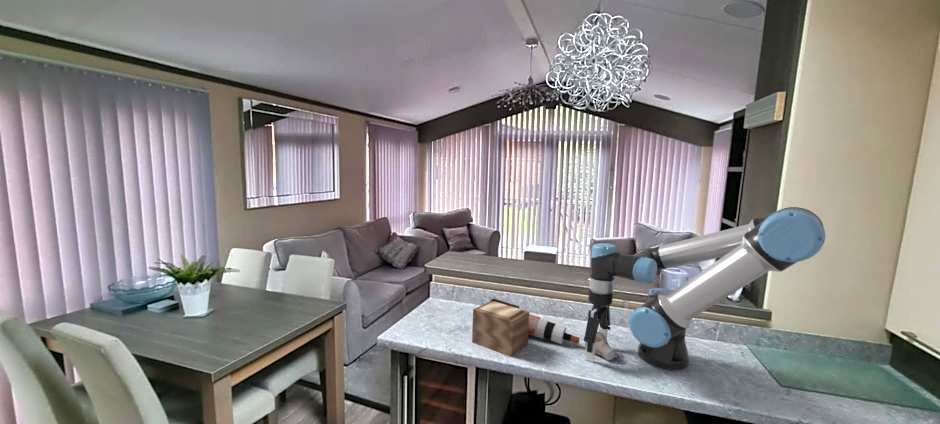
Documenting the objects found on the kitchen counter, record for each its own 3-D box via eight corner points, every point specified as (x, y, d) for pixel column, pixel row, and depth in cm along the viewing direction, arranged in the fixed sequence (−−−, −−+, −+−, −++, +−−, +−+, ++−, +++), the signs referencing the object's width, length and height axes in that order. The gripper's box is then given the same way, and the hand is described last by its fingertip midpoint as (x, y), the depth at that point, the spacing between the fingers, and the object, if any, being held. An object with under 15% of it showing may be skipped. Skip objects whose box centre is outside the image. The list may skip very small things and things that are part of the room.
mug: (607, 366, 123) (594, 335, 125) (590, 365, 132) (577, 336, 134) (624, 356, 126) (611, 327, 128) (606, 356, 135) (594, 328, 137)
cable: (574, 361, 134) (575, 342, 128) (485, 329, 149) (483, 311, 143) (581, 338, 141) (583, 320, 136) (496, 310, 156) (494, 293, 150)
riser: (527, 344, 135) (529, 310, 134) (511, 356, 127) (512, 320, 125) (489, 331, 145) (490, 299, 143) (472, 342, 136) (473, 307, 135)
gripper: (601, 280, 139) (597, 338, 142) (575, 297, 120) (571, 363, 123) (623, 284, 134) (618, 344, 137) (600, 303, 116) (594, 372, 119)
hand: (596, 353), depth 130 cm, fingers open, 11 cm apart
